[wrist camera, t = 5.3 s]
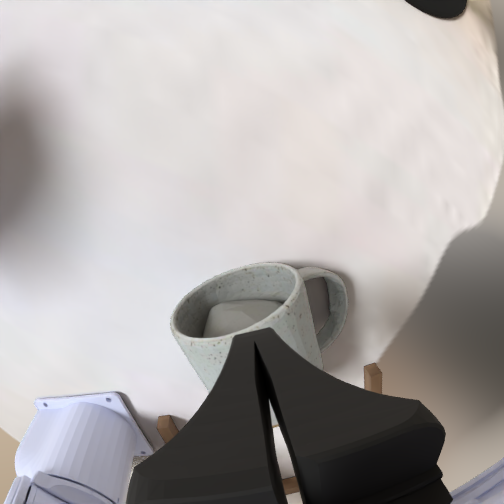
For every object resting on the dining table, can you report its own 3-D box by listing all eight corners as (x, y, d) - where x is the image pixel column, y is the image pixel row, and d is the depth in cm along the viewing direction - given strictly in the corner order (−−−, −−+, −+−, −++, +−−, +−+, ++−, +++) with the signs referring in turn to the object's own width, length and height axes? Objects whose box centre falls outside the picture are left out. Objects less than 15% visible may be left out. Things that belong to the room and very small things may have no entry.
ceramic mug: (221, 380, 23) (229, 456, 16) (173, 290, 21) (159, 354, 14) (350, 329, 24) (398, 388, 16) (323, 231, 21) (379, 267, 14)
